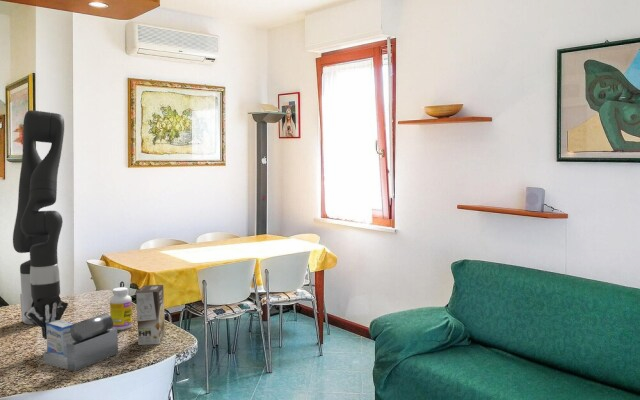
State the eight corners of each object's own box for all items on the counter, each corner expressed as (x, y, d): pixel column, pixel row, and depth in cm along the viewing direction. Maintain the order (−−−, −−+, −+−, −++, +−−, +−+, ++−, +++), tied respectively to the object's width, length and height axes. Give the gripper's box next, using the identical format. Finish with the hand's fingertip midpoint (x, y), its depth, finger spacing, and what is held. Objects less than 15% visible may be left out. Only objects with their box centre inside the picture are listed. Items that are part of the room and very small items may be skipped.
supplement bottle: (125, 331, 179) (123, 291, 178) (107, 330, 180) (105, 291, 179) (136, 324, 185) (134, 286, 184) (118, 323, 186) (116, 286, 185)
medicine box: (46, 352, 160) (45, 322, 159) (60, 347, 164) (59, 318, 163) (63, 357, 156) (62, 327, 155) (77, 352, 160) (76, 323, 159)
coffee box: (159, 344, 166) (157, 291, 164) (137, 345, 165) (135, 292, 164) (165, 334, 175) (163, 284, 173) (144, 335, 174) (142, 284, 173)
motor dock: (44, 363, 152) (41, 320, 151) (87, 346, 165) (85, 307, 163) (78, 371, 146) (75, 327, 145) (120, 353, 158) (118, 312, 157)
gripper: (56, 273, 167) (59, 329, 169) (15, 283, 155) (18, 343, 157) (73, 276, 164) (76, 333, 165) (32, 286, 152) (36, 348, 154)
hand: (48, 338), depth 161 cm, fingers closed
